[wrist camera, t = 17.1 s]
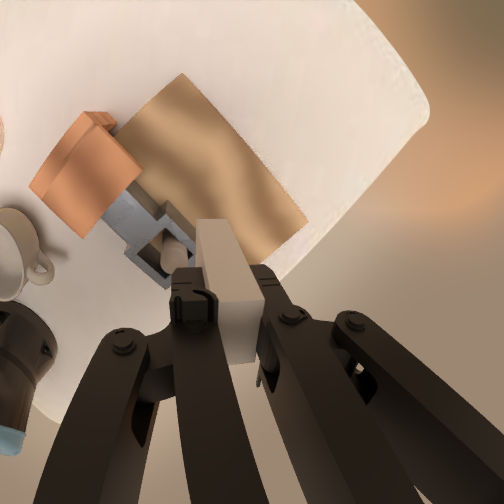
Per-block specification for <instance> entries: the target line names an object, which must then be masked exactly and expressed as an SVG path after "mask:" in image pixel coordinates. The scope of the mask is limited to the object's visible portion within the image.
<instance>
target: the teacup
mask: <svg viewBox="0 0 504 504" xmlns="http://www.w3.org/2000/svg"><path fill="white" fill-rule="evenodd" d="M37 263H39V264H40V265H41V266H42V267H44V268H45V269H46V271H47V272H45V273H38V272H35V271H34V270H35V268H36V266H37ZM53 277H54V266H53V264H52V262H51V261H50V260H49V259H48V258H47V257H46V256H45V255H44V253H43V252H42V251H41V250H40V249H39V240H38V236H37V233H36V231H35V228H34V226H33V225H32V223H31V222H30V220H29V219H28V218H27V217H26V216H25V215H24V214H23V213H22V212H20V211H18V210H16V209H13V208H0V301H10V300H13V299H15V298H16V297H17V296H18V295H19V294H20V292H21V290H22V288H23V286H24V285H25V284H26V283H27V281H28V280H29V281H31V282H32V283H34V284H36V285H46V284H48V283H50V282H51V281H52V280H53Z"/></svg>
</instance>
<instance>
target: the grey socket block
mask: <svg viewBox="0 0 504 504" xmlns="http://www.w3.org/2000/svg"><path fill="white" fill-rule="evenodd" d="M100 218H101V219H102V220H104V221H105V222H106V223H107V224H108V225H109V226H110V227H111V228H112V229H113V230H114V231H115V232H116V233H117V234H118V235H119V236H120V237H121V238H122V239H123V240H124V241H125V242H127V246H126V249H125V252H124V254H125V255H126V256H127V257H128V258H129V259H130V260H131V261H132V262H133V263H135V264H136V265H137V266H138V267H139V268H140V269H141V270H143V271H144V272H145V273H146V274H147V275H148V276H150V277H151V278H152V279H153V280H154V281H155V282H157V283H158V284H159V285H160V286H161V287H163V288H164V289H165V290H166V289H167V288H169V287H170V286H171V275H172V274H168V273H166V272H165V271H164V270H163V269H162V267H161V264H160V260H161V253H160V252H159V251H158V250H157V249H156V248H155V247H154V246H153V245H152V244H150V243H149V242H150V241H151V240H152V239H153V238H154V237H155V236H156V235H157V234H158V233H159V232H160V231H162V230H163V229H164V228H165V227H166V228H167V229H168V230H169V231H170V232H171V233H172V234H173V235H174V236H175V237H176V238H177V239H178V240H179V241H180V242H181V243H182V244H183V245H184V246H185V247H186V248H187V255H188V266H187V267H194V266H195V259H196V228H195V227H194V226H193V225H192V224H191V223H190V222H189V221H188V220H187V219H186V218H185V217H184V216H183V215H182V214H181V213H180V212H179V211H178V210H177V209H176V208H175V207H174V206H173V205H172V204H171V203H170V202H169V200H167V201H165V202H164V203H163V204H162V205H161V206H159V205H158V204H157V203H156V202H155V201H154V199H153V198H152V197H151V196H150V195H149V194H148V193H147V192H146V191H145V190H144V189H143V188H142V187H141V186H140V185H139V184H138V183H137V182H136V181H135V180H133V181H132V182H131V183H130V184H129V186H128V187H127V188H126V189H125V190H124V191H123V192H122V193H121V194H120V195H119V197H118V198H117V199H116V200H115V201H114V202H113V203H112V204H111V206H110V207H109V208H108V209H107V210H106V211H105V213H104V214H103V215H102V216H101V217H100Z"/></svg>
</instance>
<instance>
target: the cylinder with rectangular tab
mask: <svg viewBox="0 0 504 504" xmlns="http://www.w3.org/2000/svg"><path fill="white" fill-rule="evenodd" d="M3 143H4V127H3V123H2V120H1V117H0V154H1V152H2V147H3Z"/></svg>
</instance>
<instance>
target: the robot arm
mask: <svg viewBox="0 0 504 504" xmlns="http://www.w3.org/2000/svg"><path fill="white" fill-rule="evenodd" d="M169 306H170V318H171V322H170V323H169V325H168V326H167V327H166V328H165V329H163V330H162V331H160V332H158V333H155V334H152V335H148V336H145V335H144V334H142V333H141V332H140V331H139V330H135V329H132V328H119V329H115V330H113V331H111V332H109V333H108V334H106V335H105V337H104V338H103V339H102V340H101V342H100V344H99V346H98V348H97V350H96V352H95V354H94V356H93V357H92V359H91V361H90V363H89V365H88V367H87V369H86V371H85V373H84V375H83V377H82V379H81V381H80V384H79V386H78V388H77V390H76V392H75V394H74V396H73V398H72V401H71V403H70V405H69V407H68V410H67V412H66V414H65V416H64V419H63V421H62V423H61V426H60V428H59V431H58V433H57V436H56V438H55V440H54V443H53V446H52V448H51V451H50V454H49V456H48V459H47V462H46V464H45V467H44V470H43V473H42V476H41V479H40V482H39V485H38V488H37V492H36V495H35V498H34V502H33V504H138V500H139V494H140V489H141V484H142V479H143V474H144V469H145V463H146V459H147V454H148V450H149V445H150V441H151V437H152V432H153V428H154V424H155V419H156V415H157V411H158V407H159V403H160V401H161V400H165V399H168V398H171V397H174V396H176V405H177V414H178V423H179V432H180V439H181V447H182V454H183V460H184V467H185V473H186V479H187V484H188V490H189V494H190V500H191V504H269V501H268V499H267V496H266V493H265V490H264V487H263V484H262V481H261V478H260V475H259V472H258V468H257V465H256V462H255V459H254V456H253V452H252V449H251V446H250V443H249V439H248V436H247V433H246V429H245V425H244V422H243V419H242V415H241V412H240V408H239V405H238V401H237V397H236V394H235V390H234V386H233V382H232V379H231V375H230V371H229V367H228V365H233V364H243V363H252V362H255V357H256V352H257V354H258V357H259V360H260V365H259V370H258V375H257V380H256V386H257V387H260V382H261V381H262V384H263V387H264V389H265V392H266V395H267V398H268V401H269V404H270V406H271V409H272V412H273V415H274V417H275V420H276V423H277V425H278V428H279V431H280V434H281V436H282V439H283V442H284V444H285V447H286V450H287V452H288V455H289V457H290V460H291V463H292V465H293V468H294V470H295V473H296V476H297V478H298V481H299V483H300V486H301V488H302V491H303V493H304V496H305V498H306V501H307V503H308V504H424V503H423V501H422V499H421V497H420V496H419V494H418V492H417V490H416V489H415V487H416V488H417V489H418V490H419V491H420V492H421V493H422V494H423V495H424V496H425V497H426V498H427V499H428V500H429V501H431V503H433V504H504V435H503V434H502V433H501V432H500V431H499V430H498V429H497V428H496V427H495V426H494V425H492V424H491V423H490V422H489V421H488V420H487V419H486V418H485V417H484V416H483V415H481V414H480V413H479V412H478V411H477V410H476V409H475V408H474V407H473V406H472V405H470V404H469V403H468V402H467V401H466V400H465V399H464V398H463V397H461V396H460V395H459V394H458V393H457V392H455V390H453V389H452V388H451V387H450V386H449V385H448V384H447V383H445V382H444V381H443V380H442V379H441V378H440V377H439V376H437V375H436V374H435V373H434V372H432V371H431V370H430V369H429V368H428V367H427V366H426V365H425V364H423V363H422V362H421V361H420V360H419V359H417V358H416V357H415V356H414V355H413V354H412V353H411V352H409V351H408V350H407V349H406V348H405V347H403V346H402V345H401V344H400V343H399V342H397V341H396V340H395V339H394V338H393V337H392V336H390V335H389V334H388V333H387V332H386V331H384V330H383V329H382V328H381V327H380V326H378V325H377V324H376V323H375V322H373V321H372V320H371V319H370V318H369V317H367V316H366V315H364V314H362V313H359V312H356V311H349V310H348V311H342V312H340V313H339V314H338V315H337V317H336V319H335V322H329V321H320V320H314V319H312V317H311V315H310V314H309V313H308V312H307V311H306V310H305V309H303V308H301V307H299V306H296V305H293V304H292V302H291V300H290V299H289V297H288V295H287V294H286V292H285V290H284V289H283V287H282V286H281V285H280V282H279V280H278V279H277V277H276V275H275V273H274V272H273V270H271V269H270V268H269V267H267V266H266V265H264V264H258V265H248V263H247V261H246V258H245V256H244V254H243V252H242V250H241V248H240V246H239V243H238V241H237V239H236V237H235V235H234V233H233V231H232V228H231V226H230V224H229V222H228V220H227V219H196V259H195V267H183V268H176V269H175V271H174V272H173V273H172V275H171V297H170V301H169ZM56 353H57V345H56V341H55V339H54V336H53V334H52V333H51V331H50V329H49V328H48V327H47V325H46V324H45V323H44V322H43V321H42V320H41V319H40V318H39V317H38V316H37V315H36V314H35V313H34V312H32V311H31V310H29V309H28V308H26V307H25V306H23V305H21V304H19V303H16V302H13V301H0V454H2V455H6V456H16V455H18V454H19V453H20V451H21V448H22V444H23V441H24V437H25V436H26V433H25V431H26V426H27V421H28V417H29V412H30V408H31V404H32V400H33V396H34V392H35V389H36V385H37V384H38V382H39V381H40V380H41V379H42V377H43V376H44V375H45V374H46V373H47V371H48V370H49V369H50V368H51V367H52V365H53V363H54V360H55V357H56ZM358 363H360V364H361V365H362V366H363V367H364V370H363V371H359V370H357V369H356V367H357V365H358ZM414 486H415V487H414Z"/></svg>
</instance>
